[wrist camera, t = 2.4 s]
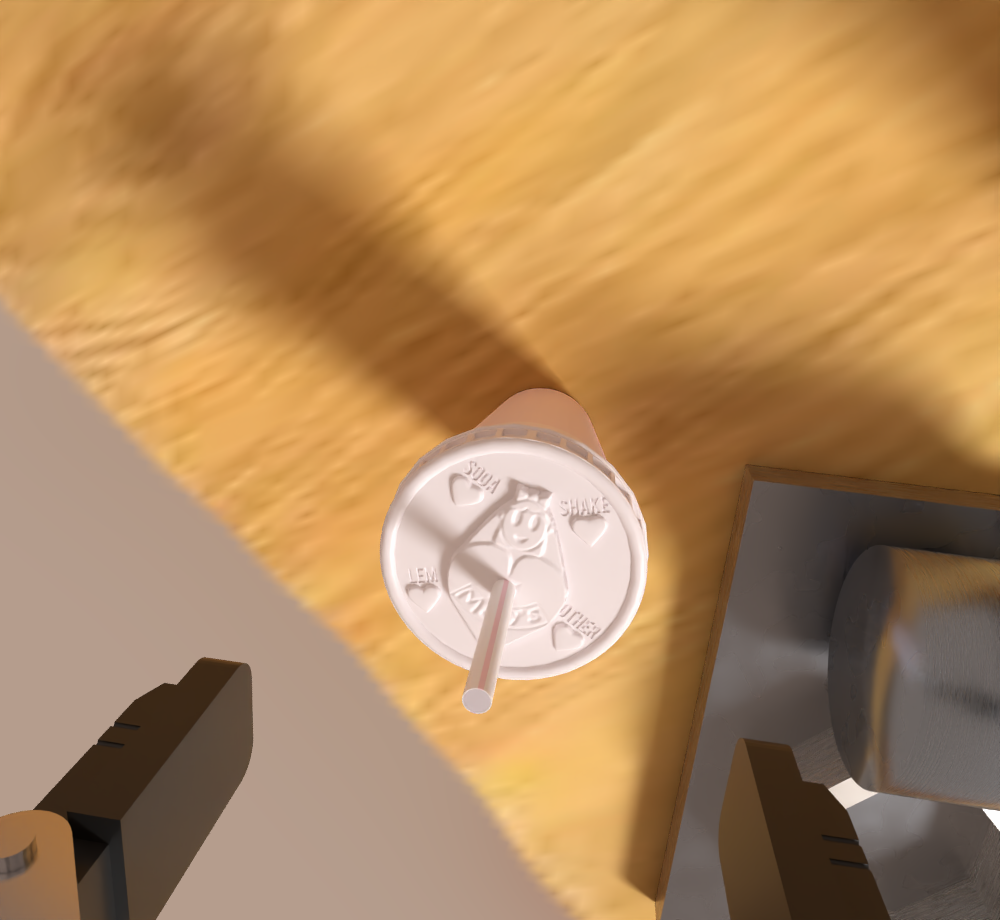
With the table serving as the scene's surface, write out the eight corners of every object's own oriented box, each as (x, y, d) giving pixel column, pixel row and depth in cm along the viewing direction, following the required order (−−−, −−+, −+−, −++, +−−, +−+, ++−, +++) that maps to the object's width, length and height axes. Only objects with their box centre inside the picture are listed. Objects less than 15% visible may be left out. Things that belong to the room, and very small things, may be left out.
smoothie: (432, 495, 29) (287, 761, 15) (474, 325, 26) (347, 467, 13) (602, 545, 28) (602, 856, 15) (660, 378, 26) (717, 575, 13)
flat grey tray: (745, 464, 27) (806, 584, 19) (1184, 517, 26) (1447, 669, 18) (655, 903, 34) (671, 1127, 26) (997, 961, 32) (1126, 1215, 24)
